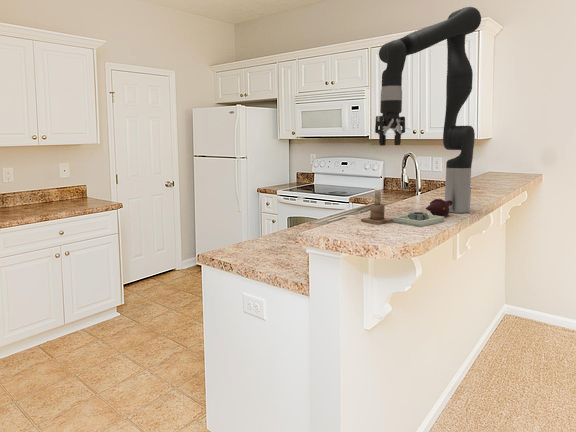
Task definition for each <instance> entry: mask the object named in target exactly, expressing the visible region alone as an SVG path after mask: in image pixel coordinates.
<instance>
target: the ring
mask: <svg viewBox="0 0 576 432" xmlns="http://www.w3.org/2000/svg"><path fill="white" fill-rule="evenodd" d="M428 215H429V214H428V213H427V212H424V211H423V212H422V211H412V212H409V213H408V217H409V219H411V220H417V221H422V220H427V219H429V217H428Z"/></svg>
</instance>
